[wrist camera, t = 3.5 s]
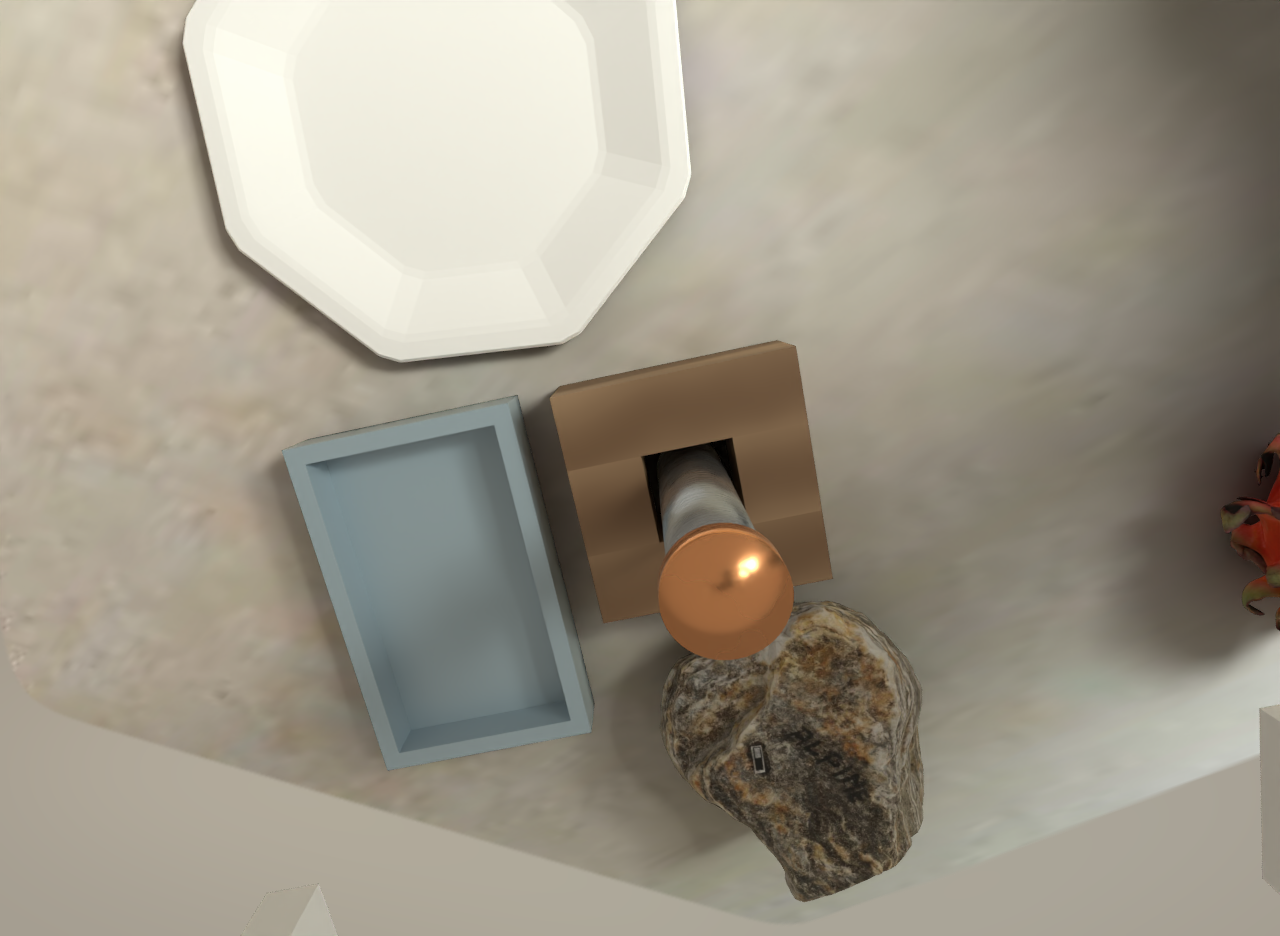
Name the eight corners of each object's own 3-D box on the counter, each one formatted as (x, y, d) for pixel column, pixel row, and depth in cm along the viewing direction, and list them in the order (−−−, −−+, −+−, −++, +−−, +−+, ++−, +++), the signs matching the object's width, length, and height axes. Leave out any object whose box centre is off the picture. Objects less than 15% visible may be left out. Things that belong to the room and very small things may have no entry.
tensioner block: (559, 386, 33) (549, 397, 29) (777, 340, 33) (795, 346, 29) (607, 587, 35) (603, 623, 31) (811, 547, 35) (832, 578, 31)
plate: (275, 375, 33) (258, 378, 32) (162, -120, 29) (137, -142, 27) (702, 326, 33) (705, 328, 31) (656, -185, 28) (657, -211, 27)
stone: (604, 652, 32) (788, 718, 25) (742, 540, 39) (922, 566, 31) (686, 872, 37) (865, 984, 29) (798, 740, 43) (970, 805, 35)
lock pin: (643, 439, 34) (646, 548, 19) (719, 423, 33) (782, 521, 19) (658, 512, 34) (672, 671, 20) (733, 497, 34) (803, 646, 20)
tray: (307, 439, 34) (281, 450, 31) (517, 395, 33) (507, 402, 31) (403, 739, 37) (387, 770, 35) (594, 703, 37) (591, 732, 34)
